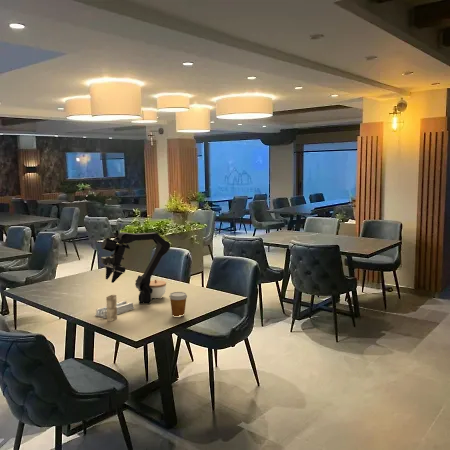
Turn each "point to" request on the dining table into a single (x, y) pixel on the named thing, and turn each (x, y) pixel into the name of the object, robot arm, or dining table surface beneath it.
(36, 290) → the dining table surface
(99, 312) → the door track
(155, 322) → the dining table surface
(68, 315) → the dining table surface
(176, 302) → the disposable coffee cup
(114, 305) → the beige tall block
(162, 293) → the lidded bowl
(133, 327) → the dining table surface
